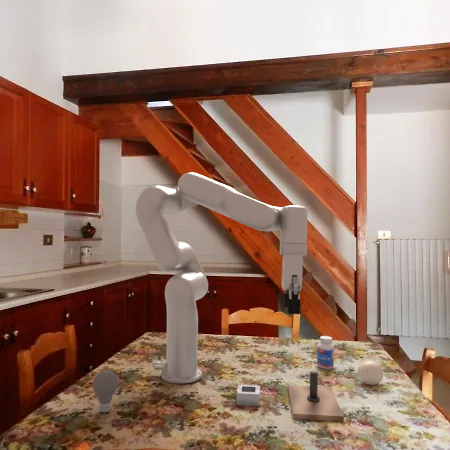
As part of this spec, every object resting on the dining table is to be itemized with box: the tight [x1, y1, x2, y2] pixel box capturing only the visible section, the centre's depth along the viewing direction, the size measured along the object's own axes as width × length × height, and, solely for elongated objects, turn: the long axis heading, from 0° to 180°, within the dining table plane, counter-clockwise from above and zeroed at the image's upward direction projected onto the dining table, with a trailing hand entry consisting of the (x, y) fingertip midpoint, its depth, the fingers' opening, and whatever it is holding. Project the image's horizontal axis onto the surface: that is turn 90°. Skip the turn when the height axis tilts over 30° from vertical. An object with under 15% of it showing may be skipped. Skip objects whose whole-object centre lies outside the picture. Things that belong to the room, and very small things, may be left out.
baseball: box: [357, 360, 384, 386], centre depth 121 cm, size 7×7×7 cm
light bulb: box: [92, 369, 119, 413], centre depth 99 cm, size 6×6×10 cm
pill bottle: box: [316, 335, 335, 370], centre depth 136 cm, size 6×5×10 cm
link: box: [236, 384, 261, 407], centre depth 107 cm, size 6×6×3 cm
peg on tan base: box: [287, 370, 345, 422], centre depth 106 cm, size 12×18×8 cm, turn 175°
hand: (291, 310), depth 114 cm, fingers open, 9 cm apart
